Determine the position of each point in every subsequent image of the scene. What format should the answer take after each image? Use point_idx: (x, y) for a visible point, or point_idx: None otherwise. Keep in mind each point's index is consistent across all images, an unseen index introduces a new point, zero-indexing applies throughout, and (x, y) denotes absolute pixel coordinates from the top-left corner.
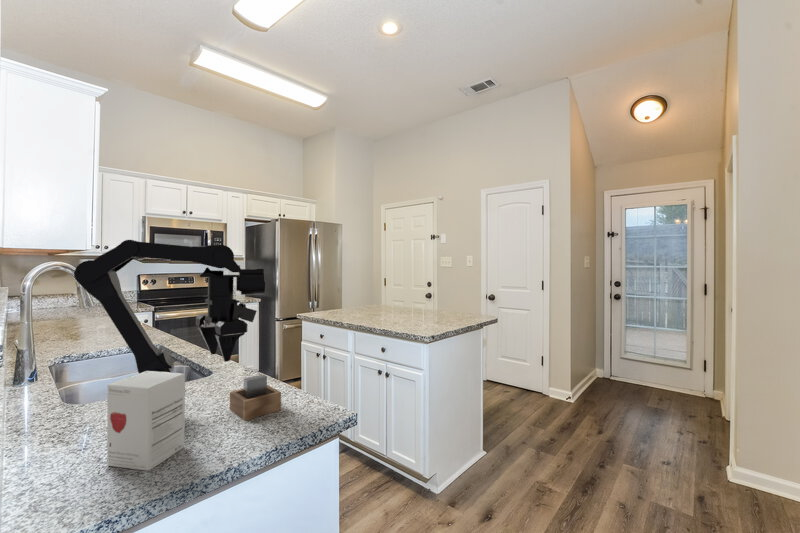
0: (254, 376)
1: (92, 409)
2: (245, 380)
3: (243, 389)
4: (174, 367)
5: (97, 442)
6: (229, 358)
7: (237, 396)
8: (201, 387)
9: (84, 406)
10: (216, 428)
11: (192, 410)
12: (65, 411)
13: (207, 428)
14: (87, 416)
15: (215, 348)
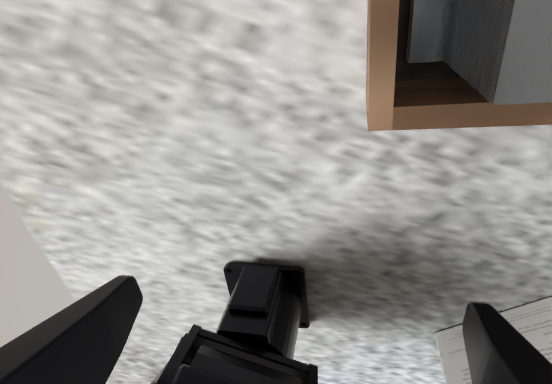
0: (518, 2)
1: (131, 337)
2: (528, 100)
3: (389, 53)
4: (180, 374)
5: (340, 372)
6: (507, 327)
7: (483, 124)
8: (35, 112)
9: None
10: (512, 195)
11: (273, 201)
12: (122, 361)
13: (481, 215)
14: (171, 350)
15: (104, 315)
